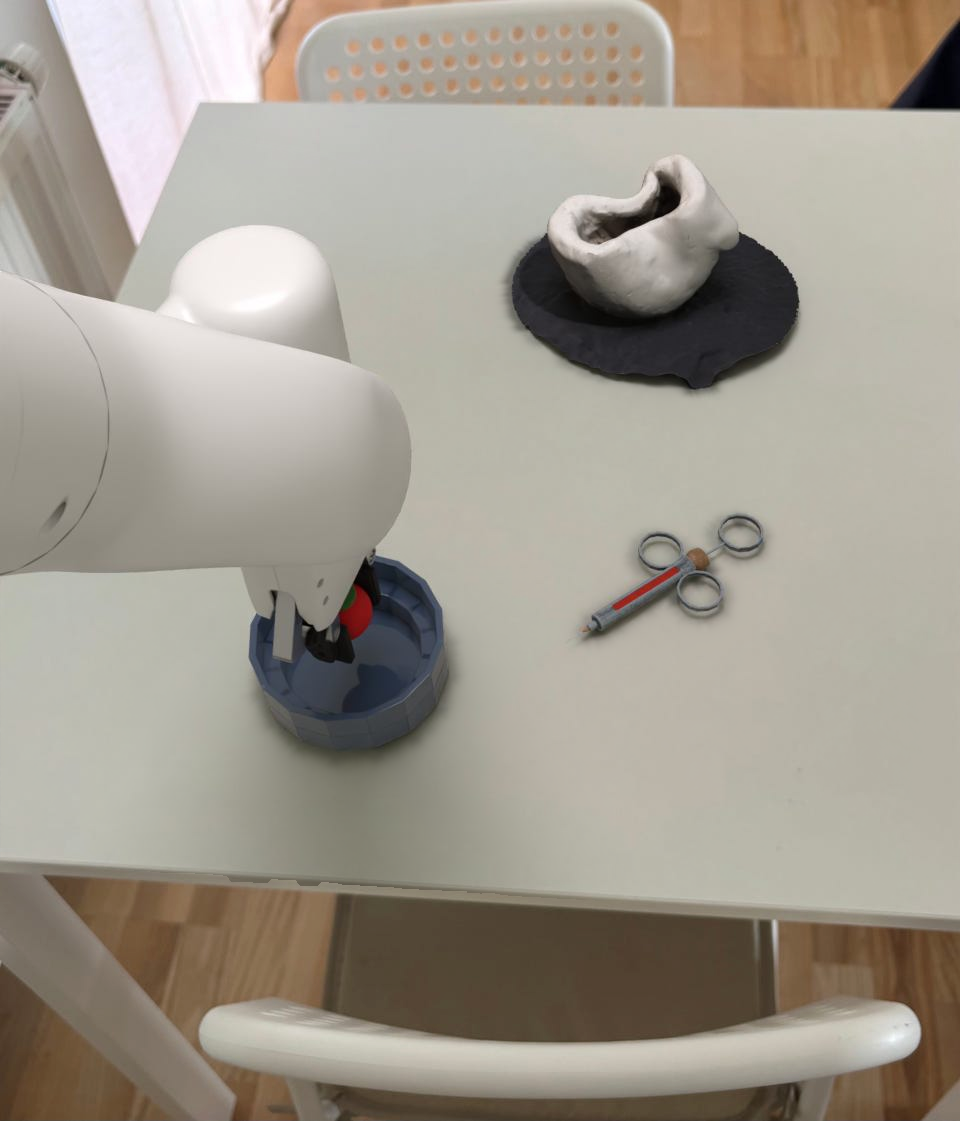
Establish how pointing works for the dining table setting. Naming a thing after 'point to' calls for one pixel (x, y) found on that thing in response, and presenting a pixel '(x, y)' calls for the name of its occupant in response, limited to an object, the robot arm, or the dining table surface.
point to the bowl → (362, 670)
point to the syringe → (668, 578)
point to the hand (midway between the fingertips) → (345, 624)
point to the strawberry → (356, 611)
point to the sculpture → (655, 281)
